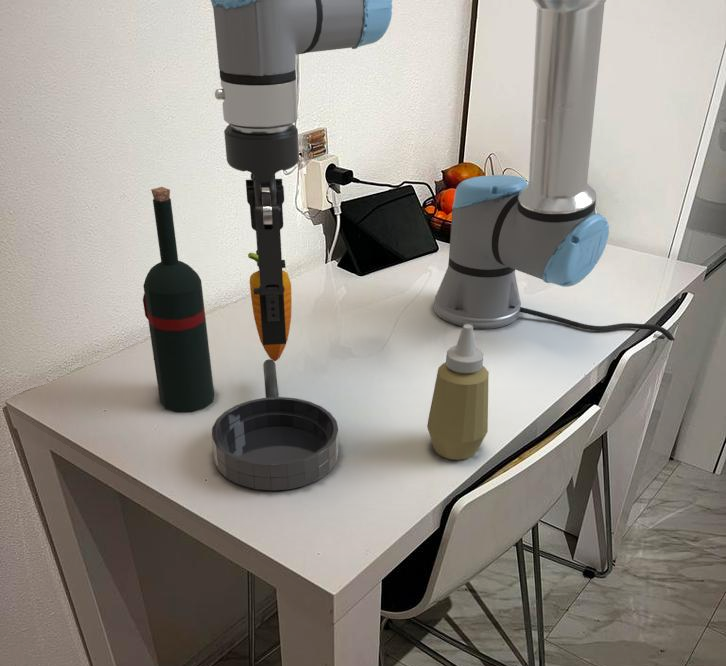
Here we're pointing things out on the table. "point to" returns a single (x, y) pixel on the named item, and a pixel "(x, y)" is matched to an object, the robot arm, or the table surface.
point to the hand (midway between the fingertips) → (273, 332)
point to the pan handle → (270, 379)
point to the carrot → (271, 350)
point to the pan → (275, 443)
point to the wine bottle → (177, 321)
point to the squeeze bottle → (460, 400)
